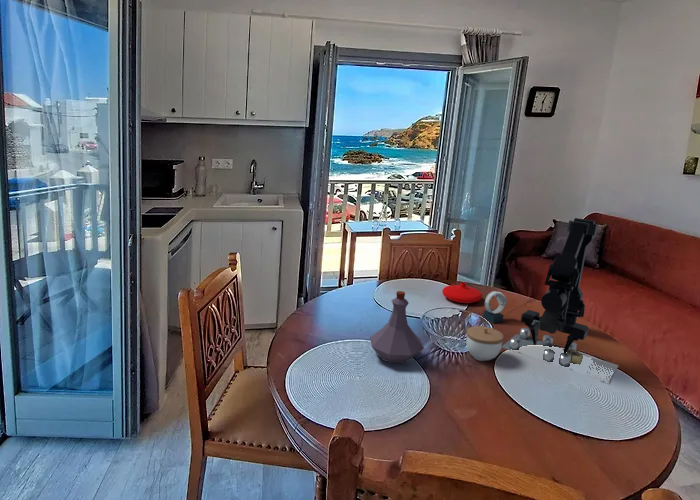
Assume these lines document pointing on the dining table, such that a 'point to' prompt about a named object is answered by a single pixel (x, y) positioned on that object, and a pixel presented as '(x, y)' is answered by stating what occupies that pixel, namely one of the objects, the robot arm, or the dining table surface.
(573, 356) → the nut
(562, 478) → the dining table surface
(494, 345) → the lidded jar
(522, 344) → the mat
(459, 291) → the red disc with nozzle
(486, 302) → the grey ring on stand
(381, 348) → the flask
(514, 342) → the spacers
